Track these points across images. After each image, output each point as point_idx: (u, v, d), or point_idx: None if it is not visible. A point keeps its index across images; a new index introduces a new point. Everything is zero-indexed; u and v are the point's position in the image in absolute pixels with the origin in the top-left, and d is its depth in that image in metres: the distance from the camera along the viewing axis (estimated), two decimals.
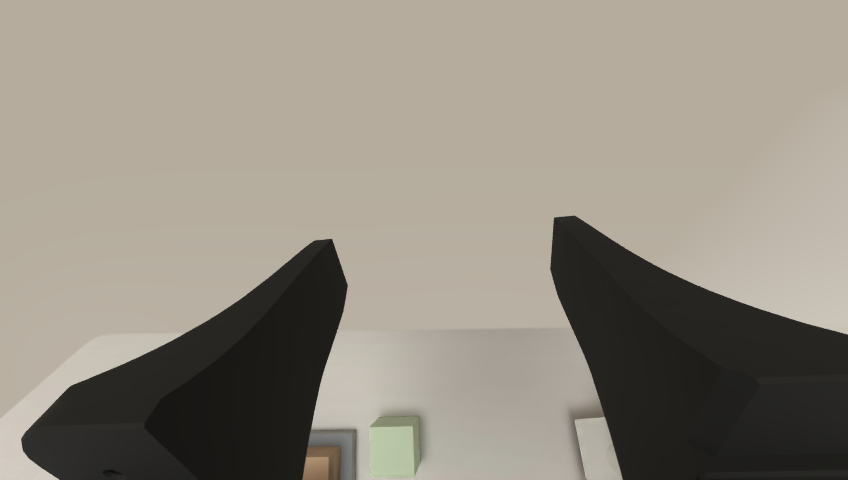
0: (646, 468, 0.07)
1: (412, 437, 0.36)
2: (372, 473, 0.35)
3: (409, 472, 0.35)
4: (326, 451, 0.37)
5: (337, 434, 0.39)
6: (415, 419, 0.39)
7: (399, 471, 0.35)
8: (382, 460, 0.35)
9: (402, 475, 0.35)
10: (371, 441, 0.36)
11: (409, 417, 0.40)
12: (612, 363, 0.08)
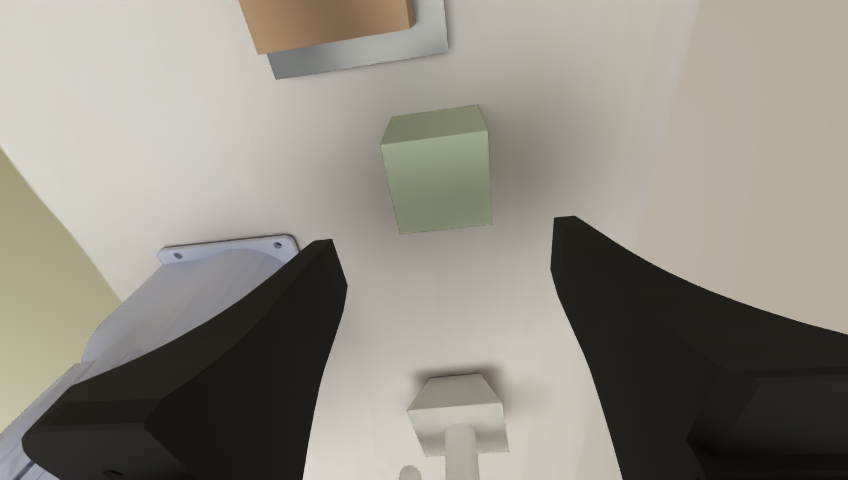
0: (646, 468, 0.07)
1: (470, 224, 0.17)
2: (388, 150, 0.15)
3: (405, 225, 0.17)
4: None
5: (442, 7, 0.15)
6: None
7: (403, 206, 0.17)
8: (418, 169, 0.16)
9: (397, 212, 0.17)
10: (455, 140, 0.15)
11: None
12: (612, 363, 0.08)
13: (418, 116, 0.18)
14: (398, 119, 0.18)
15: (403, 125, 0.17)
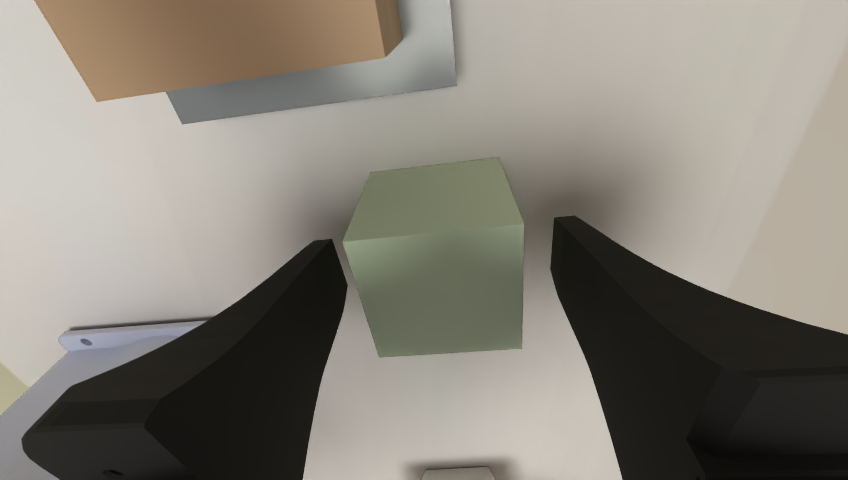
0: (647, 468, 0.07)
1: (487, 347, 0.11)
2: (357, 250, 0.09)
3: (388, 347, 0.11)
4: None
5: (447, 13, 0.09)
6: None
7: (384, 324, 0.11)
8: (406, 276, 0.10)
9: (375, 331, 0.11)
10: (469, 237, 0.09)
11: None
12: (612, 363, 0.08)
13: (409, 175, 0.12)
14: (379, 179, 0.12)
15: (385, 194, 0.11)
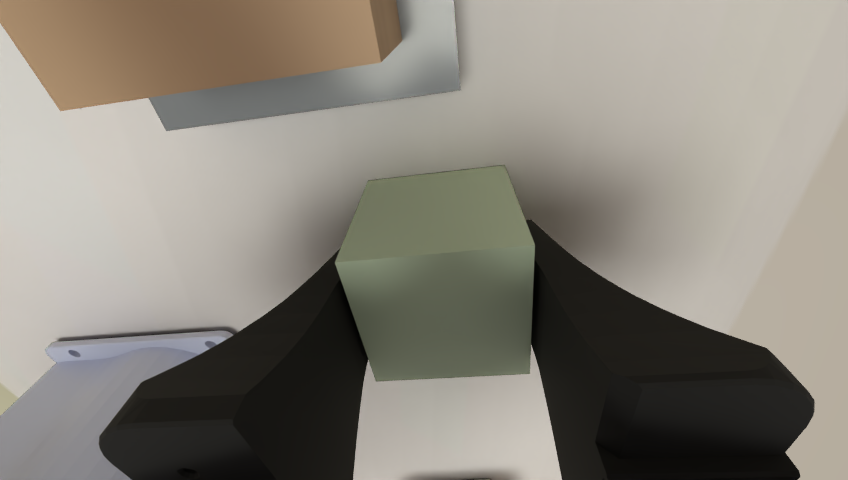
0: (574, 469, 0.07)
1: (492, 371, 0.10)
2: (351, 272, 0.08)
3: (386, 371, 0.10)
4: None
5: (450, 12, 0.08)
6: None
7: (382, 348, 0.10)
8: (405, 299, 0.09)
9: (371, 355, 0.10)
10: (474, 258, 0.08)
11: None
12: (552, 366, 0.08)
13: (409, 185, 0.11)
14: (377, 189, 0.11)
15: (383, 207, 0.10)
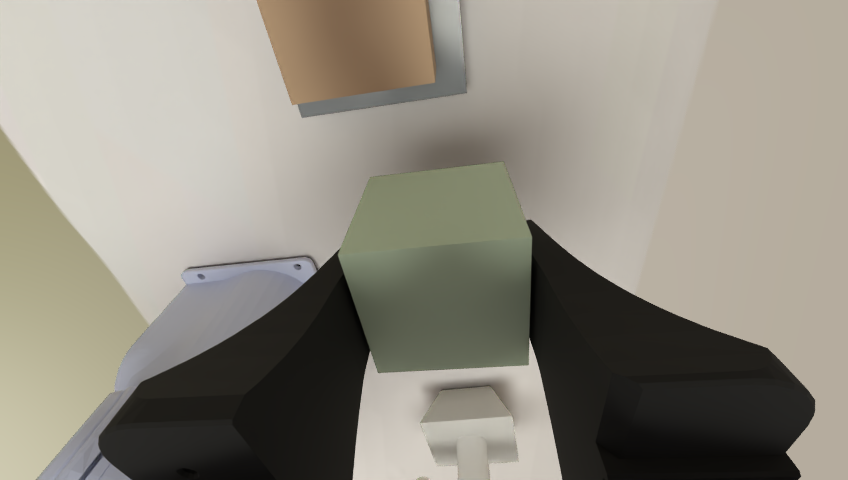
0: (575, 469, 0.07)
1: (492, 363, 0.10)
2: (354, 263, 0.09)
3: (388, 362, 0.11)
4: (432, 48, 0.14)
5: (461, 53, 0.16)
6: None
7: (383, 339, 0.10)
8: (406, 290, 0.09)
9: (373, 346, 0.10)
10: (473, 250, 0.08)
11: None
12: (552, 366, 0.08)
13: (410, 181, 0.11)
14: (378, 185, 0.11)
15: (384, 202, 0.10)
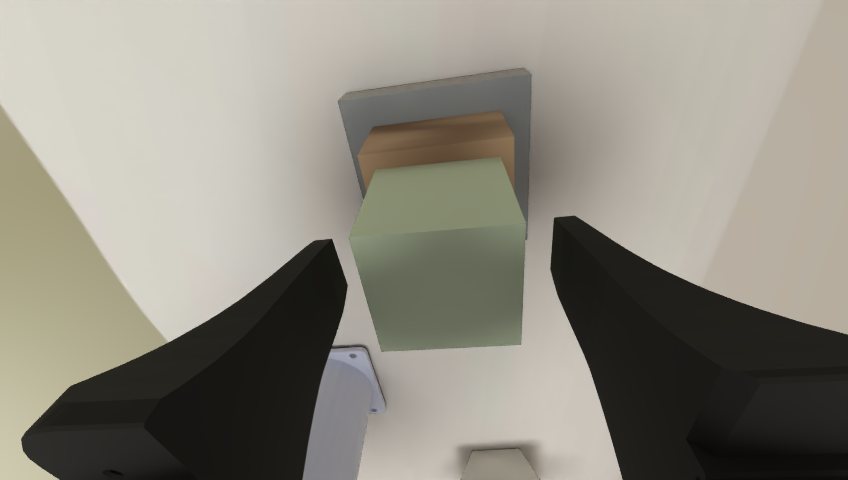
0: (646, 468, 0.07)
1: (487, 342, 0.11)
2: (363, 246, 0.09)
3: (391, 341, 0.11)
4: None
5: (525, 212, 0.18)
6: None
7: (388, 319, 0.11)
8: (410, 272, 0.10)
9: (378, 326, 0.11)
10: (472, 235, 0.09)
11: None
12: (612, 363, 0.08)
13: (413, 174, 0.12)
14: (383, 177, 0.12)
15: (390, 192, 0.11)
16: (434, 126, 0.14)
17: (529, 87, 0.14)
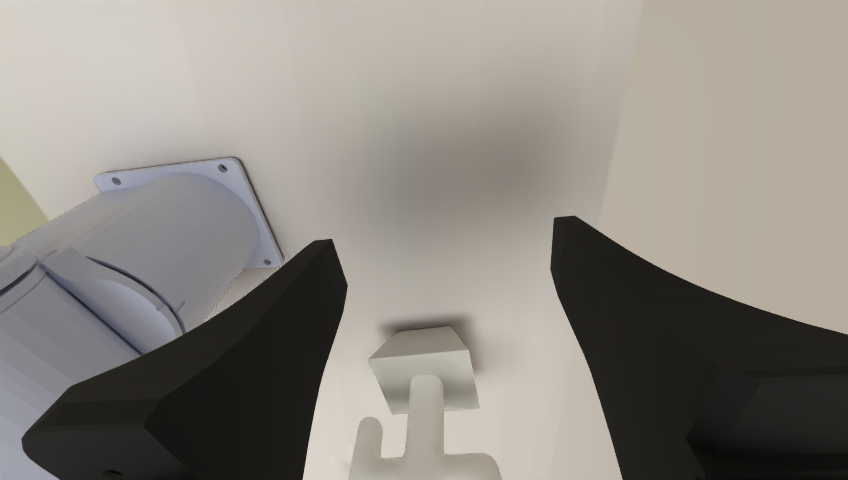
0: (647, 468, 0.07)
1: None
2: None
3: None
4: None
5: None
6: None
7: None
8: None
9: None
10: None
11: None
12: (612, 363, 0.08)
13: None
14: None
15: None
16: None
17: None
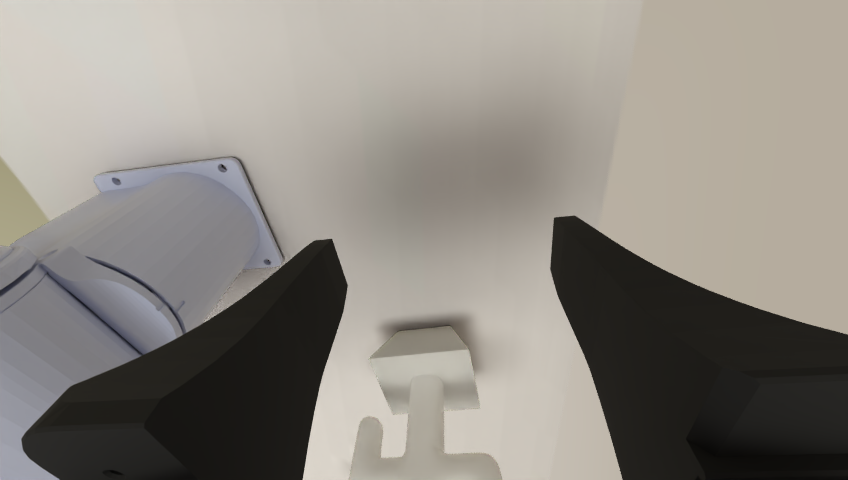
0: (646, 468, 0.07)
1: None
2: None
3: None
4: None
5: None
6: None
7: None
8: None
9: None
10: None
11: None
12: (612, 363, 0.08)
13: None
14: None
15: None
16: None
17: None
